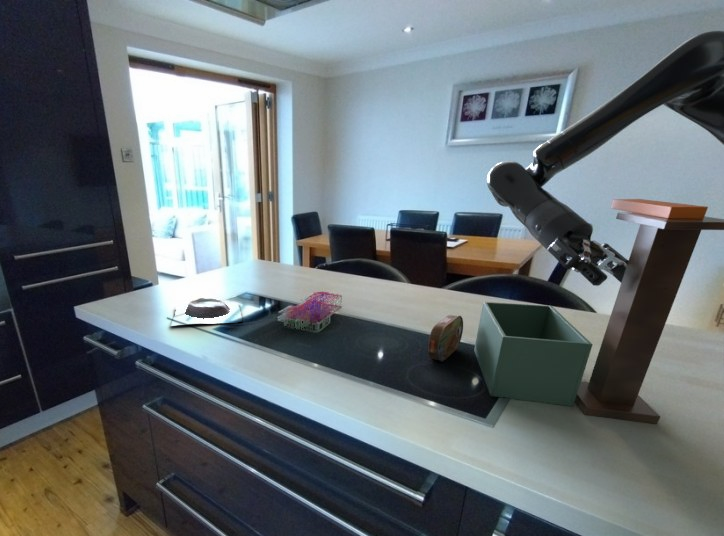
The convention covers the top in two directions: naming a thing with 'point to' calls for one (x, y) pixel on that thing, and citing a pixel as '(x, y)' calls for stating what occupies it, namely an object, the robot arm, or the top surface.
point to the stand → (640, 315)
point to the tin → (445, 337)
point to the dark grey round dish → (207, 308)
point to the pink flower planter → (311, 310)
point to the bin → (530, 353)
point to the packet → (660, 208)
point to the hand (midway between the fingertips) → (618, 283)
